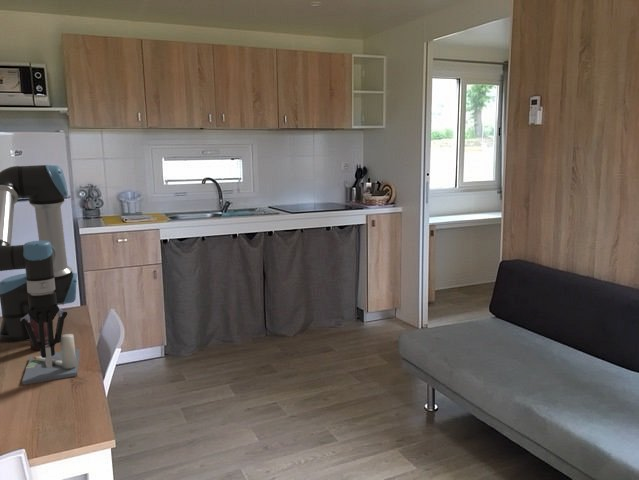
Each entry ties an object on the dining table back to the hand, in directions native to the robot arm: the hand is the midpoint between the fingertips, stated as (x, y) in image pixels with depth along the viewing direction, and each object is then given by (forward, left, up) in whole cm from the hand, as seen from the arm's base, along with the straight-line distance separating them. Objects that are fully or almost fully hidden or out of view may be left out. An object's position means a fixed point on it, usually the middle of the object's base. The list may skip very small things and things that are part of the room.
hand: (49, 366), depth 164 cm
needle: (-8, +1, -2) cm, 8 cm away
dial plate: (-8, 0, -3) cm, 9 cm away
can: (-30, -5, -4) cm, 31 cm away
